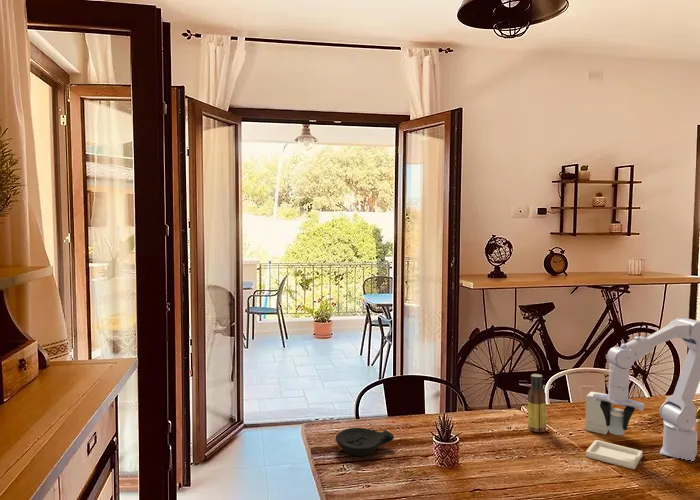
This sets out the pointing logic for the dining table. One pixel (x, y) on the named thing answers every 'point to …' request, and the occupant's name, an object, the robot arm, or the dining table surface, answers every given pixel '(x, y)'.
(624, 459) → the tray
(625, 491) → the dining table surface
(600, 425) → the supplement box
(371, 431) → the oil lamp
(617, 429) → the cylinder
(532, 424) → the sauce bottle
